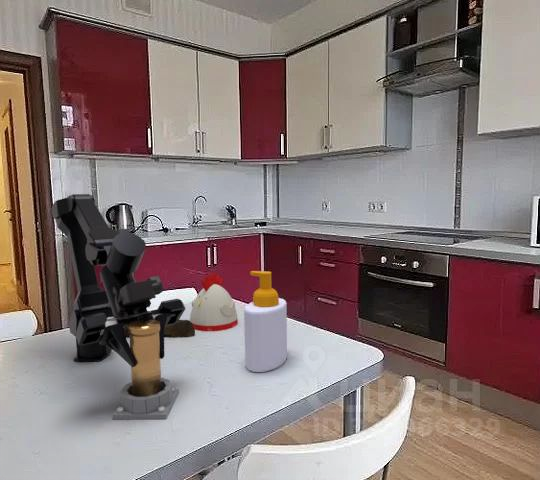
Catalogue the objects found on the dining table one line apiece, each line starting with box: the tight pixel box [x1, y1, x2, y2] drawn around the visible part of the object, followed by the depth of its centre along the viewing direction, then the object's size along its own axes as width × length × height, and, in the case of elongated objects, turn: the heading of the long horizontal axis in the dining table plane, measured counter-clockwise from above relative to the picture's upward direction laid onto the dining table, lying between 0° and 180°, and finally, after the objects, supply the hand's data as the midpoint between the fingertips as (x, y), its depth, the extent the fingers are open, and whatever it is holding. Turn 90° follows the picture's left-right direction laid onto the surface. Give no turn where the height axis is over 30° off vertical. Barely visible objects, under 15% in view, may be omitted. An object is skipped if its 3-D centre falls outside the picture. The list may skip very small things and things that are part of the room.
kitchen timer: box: [189, 272, 239, 332], centre depth 118 cm, size 14×14×15 cm
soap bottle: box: [243, 270, 288, 373], centre depth 90 cm, size 13×8×20 cm, turn 154°
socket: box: [112, 377, 180, 420], centre depth 72 cm, size 9×9×3 cm
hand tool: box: [124, 319, 196, 339], centre depth 108 cm, size 19×4×5 cm, turn 84°
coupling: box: [128, 320, 162, 397], centre depth 71 cm, size 5×5×13 cm
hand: (148, 361), depth 70 cm, fingers closed on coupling, 5 cm apart
